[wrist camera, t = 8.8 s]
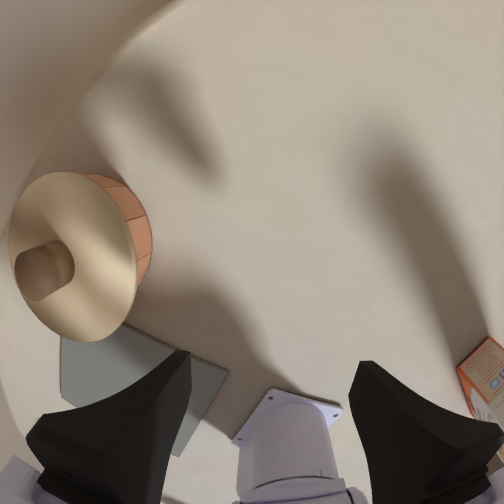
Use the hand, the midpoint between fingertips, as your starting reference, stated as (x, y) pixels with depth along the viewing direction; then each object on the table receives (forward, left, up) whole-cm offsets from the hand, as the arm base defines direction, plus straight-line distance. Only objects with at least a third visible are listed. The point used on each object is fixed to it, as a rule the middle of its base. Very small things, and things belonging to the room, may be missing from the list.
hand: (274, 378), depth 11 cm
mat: (-16, +8, -10) cm, 20 cm away
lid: (-2, +14, -5) cm, 15 cm away
